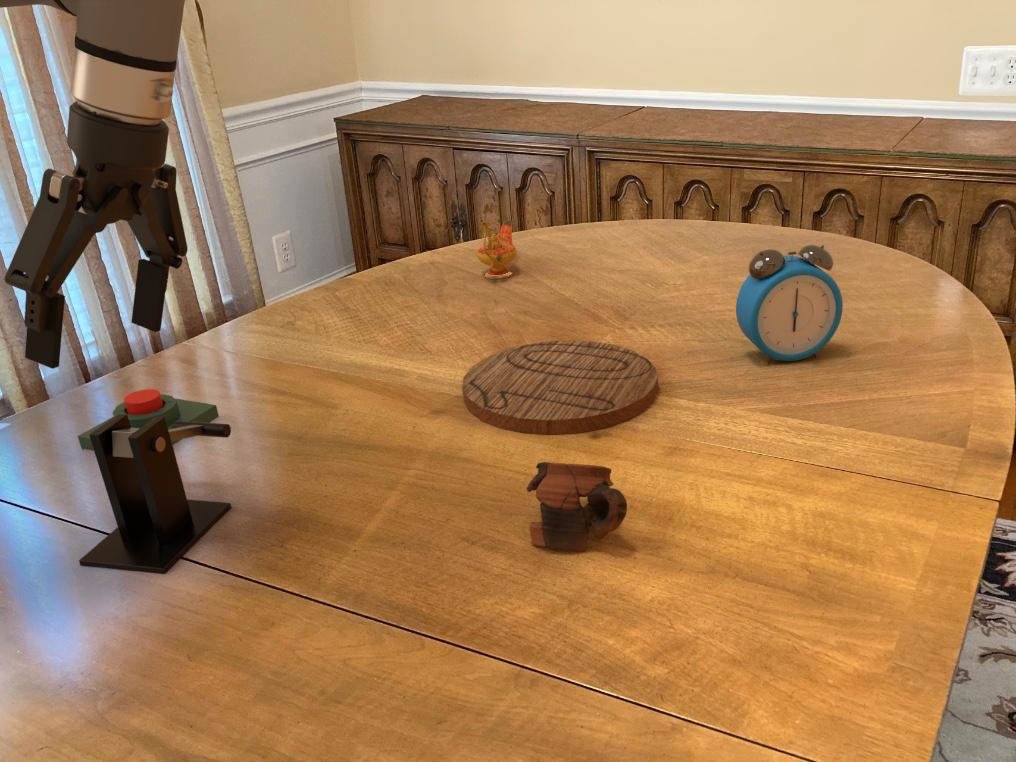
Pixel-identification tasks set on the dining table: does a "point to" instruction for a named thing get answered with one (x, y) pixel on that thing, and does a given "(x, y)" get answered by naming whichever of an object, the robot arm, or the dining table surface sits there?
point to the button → (143, 402)
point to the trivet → (560, 387)
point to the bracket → (147, 502)
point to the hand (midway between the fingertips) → (97, 343)
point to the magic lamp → (497, 249)
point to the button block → (170, 411)
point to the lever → (176, 433)
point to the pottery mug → (574, 505)
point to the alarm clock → (789, 303)
